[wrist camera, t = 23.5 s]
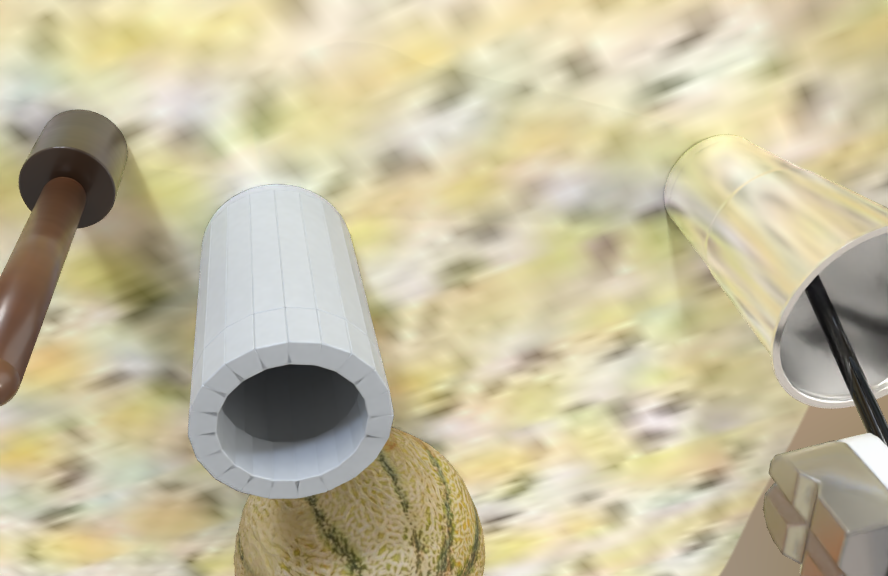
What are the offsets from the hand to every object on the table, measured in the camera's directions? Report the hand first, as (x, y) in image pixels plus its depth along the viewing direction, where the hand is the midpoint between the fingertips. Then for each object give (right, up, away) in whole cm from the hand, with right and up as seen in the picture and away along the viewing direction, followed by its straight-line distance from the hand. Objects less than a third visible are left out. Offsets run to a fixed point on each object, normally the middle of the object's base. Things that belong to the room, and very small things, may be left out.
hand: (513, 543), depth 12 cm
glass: (+15, +10, +38) cm, 42 cm away
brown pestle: (-19, +11, +29) cm, 36 cm away
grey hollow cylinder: (-10, +6, +34) cm, 36 cm away
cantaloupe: (-8, -8, +43) cm, 45 cm away
